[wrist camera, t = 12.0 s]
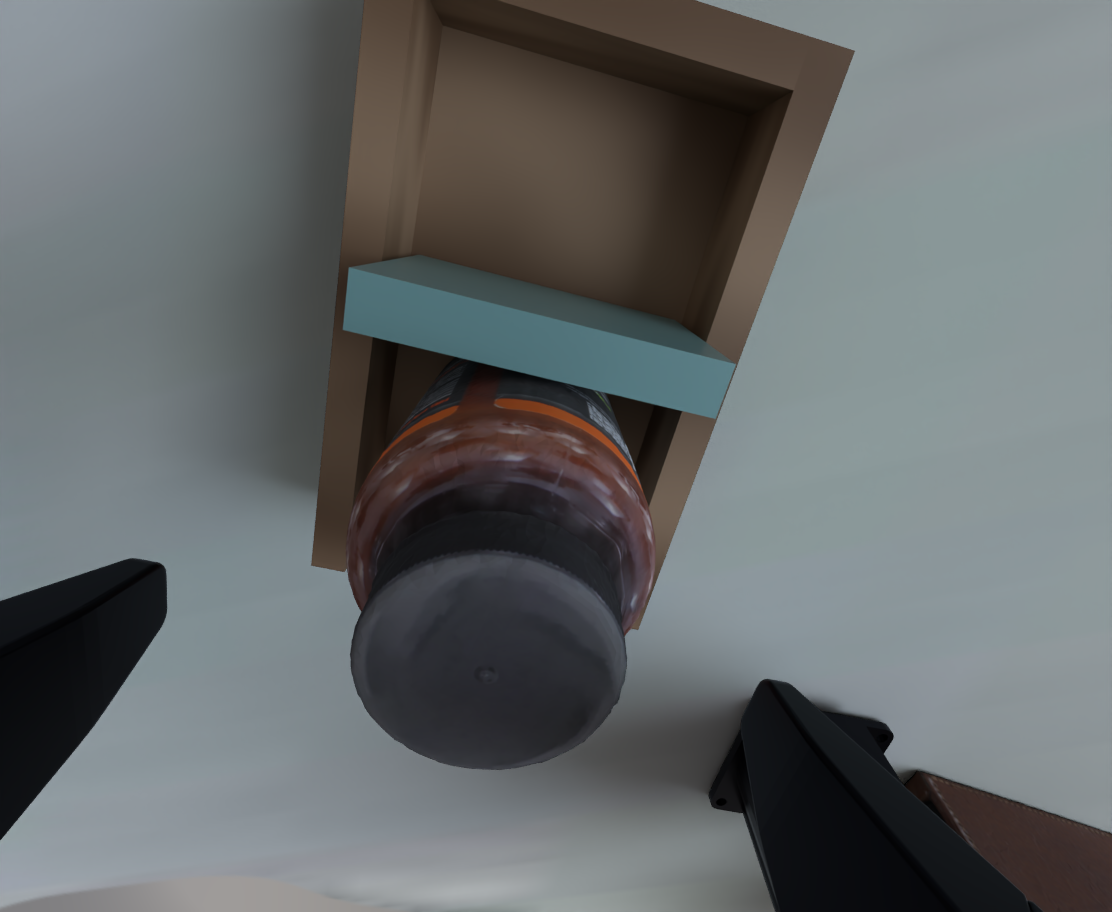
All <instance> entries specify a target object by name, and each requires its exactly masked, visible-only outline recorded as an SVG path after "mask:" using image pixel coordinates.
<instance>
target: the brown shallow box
mask: <svg viewBox="0 0 1112 912" xmlns="http://www.w3.org/2000/svg"><path fill="white" fill-rule="evenodd" d="M854 52H855V51H854V50H851V49H847V48H844V47H841V46H838V45H835V44H832V43H828V42H825V41H822V40H819V39H816V38H813V37H809V36H806V35H803V34H800V33H797V32H794V31H790V30H787V29H784V28H781V27H778V26H775V25H771V24H768V23H765V22H762V21H759V20H756V19H752V18H749V17H746V16H743V15H740V14H737V13H733V12H730V11H727V10H724V9H721V8H718V7H714V6H711V5H708V4H705V3H702V2H699V1H695V0H364V8H363V18H362V29H361V40H360V51H359V61H358V72H357V83H356V93H355V104H354V115H353V125H352V136H351V147H350V157H349V168H348V179H347V189H346V200H345V211H344V222H343V232H342V243H341V254H340V264H339V275H338V286H337V296H336V307H335V318H334V328H333V339H332V350H331V360H330V371H329V382H328V392H327V403H326V414H325V425H324V435H323V446H322V457H321V467H320V478H319V489H318V499H317V510H316V521H315V531H314V542H313V553H312V563H311V566H316V567H321V568H327V569H332V570H337V571H342V572H345V570H346V569H347V561H346V540H347V530H348V524H349V520H350V515H351V511H352V509H353V506H354V503H355V500H356V497H357V495H358V493H359V491H360V489H361V487H362V485H363V483H364V482H365V480H366V478H367V476H368V475H369V473H370V472H371V470H372V469H373V467H374V466H375V464H376V463H377V462H378V460H379V459H380V457H381V455H382V453H383V452H384V451H385V449H386V447H387V446H388V445H389V444H390V442H391V441H392V439H393V438H394V437H395V435H396V434H397V433H398V431H399V430H400V428H401V427H402V425H403V424H404V423H405V421H406V420H407V419H408V417H409V416H410V414H411V413H412V411H413V409H414V408H415V407H416V406H417V404H418V403H419V401H420V400H421V399H422V397H423V396H424V394H425V393H426V392H427V390H428V388H429V387H430V386H431V384H432V383H433V382H434V381H435V379H436V378H437V376H438V375H439V374H440V372H441V371H442V370H443V369H444V367H445V366H446V365H447V364H448V363H450V362H451V360H453V359H454V358H455V357H454V356H450V355H446V354H442V353H438V352H434V351H429V350H425V349H421V348H417V347H413V346H409V345H404V344H400V343H396V342H392V341H388V340H383V339H379V338H375V337H371V336H367V335H363V334H358V333H354V332H350V331H346V330H343V323H344V313H345V303H346V293H347V283H348V273H349V267H354V266H360V265H365V264H371V263H376V262H382V261H387V260H393V259H398V258H404V257H409V256H415V255H423V256H427V257H430V258H434V259H438V260H442V261H446V262H450V263H454V264H458V265H462V266H466V267H470V268H473V269H477V270H481V271H485V272H489V273H493V274H497V275H501V276H505V277H509V278H513V279H517V280H520V281H524V282H528V283H532V284H536V285H540V286H544V287H548V288H552V289H556V290H560V291H563V292H567V293H571V294H575V295H579V296H583V297H587V298H591V299H595V300H599V301H603V302H606V303H610V304H614V305H618V306H622V307H626V308H630V309H634V310H638V311H642V312H646V313H650V314H653V315H657V316H661V317H665V318H669V319H673V320H676V321H677V322H678V323H680V324H681V325H683V326H684V327H685V328H687V329H688V330H689V331H691V332H692V333H694V334H695V335H696V336H698V337H699V338H700V339H702V340H703V341H705V342H706V343H707V344H709V345H710V346H711V347H713V348H714V349H716V350H717V351H718V352H720V353H721V354H723V355H724V356H725V357H727V358H728V359H729V360H731V361H732V362H734V363H735V364H736V366H735V368H734V371H733V374H732V377H731V379H730V382H729V385H728V387H727V390H726V393H725V395H724V398H723V401H722V403H721V406H720V409H719V411H718V414H717V417H716V419H714V418H710V417H705V416H701V415H697V414H693V413H689V412H684V411H680V410H676V409H672V408H668V407H664V406H659V405H655V404H651V403H647V402H643V401H638V400H634V399H630V398H626V397H622V396H618V395H613V394H609V393H606V395H607V397H608V399H609V402H610V405H611V408H612V410H613V412H614V415H615V418H616V420H617V423H618V425H619V428H620V431H621V434H622V436H623V439H624V441H625V444H626V446H627V448H628V451H629V454H630V456H631V459H632V462H633V464H634V467H635V470H636V472H637V474H638V477H639V480H640V483H641V487H642V490H643V493H644V496H645V498H646V501H647V504H648V507H649V511H650V514H651V518H652V524H653V529H654V535H655V545H656V559H655V572H654V576H653V582H652V588H651V590H650V592H649V594H648V596H647V600H646V602H645V605H644V607H643V608H642V610H641V612H640V615H639V617H638V619H637V620H636V621H635V623H634V624H633V626H632V628H631V629H636V630H638V629H639V626H640V623H641V621H642V618H643V615H644V613H645V610H646V607H647V605H648V602H649V599H650V597H651V594H652V591H653V589H654V586H655V583H656V581H657V578H658V575H659V573H660V570H661V567H662V565H663V562H664V559H665V557H666V554H667V551H668V549H669V546H670V543H671V541H672V538H673V535H674V533H675V530H676V527H677V525H678V522H679V519H680V517H681V514H682V511H683V509H684V506H685V503H686V501H687V498H688V495H689V493H690V490H691V487H692V485H693V482H694V479H695V477H696V474H697V471H698V468H699V466H700V463H701V460H702V458H703V455H704V452H705V450H706V447H707V444H708V442H709V439H710V436H711V434H712V431H713V428H714V426H715V423H716V420H717V418H718V415H719V412H720V410H721V407H722V404H723V402H724V399H725V396H726V394H727V391H728V388H729V386H730V383H731V380H732V378H733V375H734V372H735V370H736V367H737V364H738V362H739V359H740V356H741V354H742V351H743V348H744V346H745V343H746V340H747V338H748V335H749V332H750V330H751V327H752V324H753V322H754V319H755V316H756V314H757V311H758V308H759V306H760V303H761V300H762V298H763V295H764V292H765V290H766V287H767V284H768V282H769V279H770V276H771V274H772V271H773V268H774V266H775V263H776V260H777V258H778V255H779V252H780V249H781V247H782V244H783V241H784V239H785V236H786V233H787V231H788V228H789V225H790V223H791V220H792V217H793V215H794V212H795V209H796V207H797V204H798V201H799V199H800V196H801V193H802V191H803V188H804V185H805V183H806V180H807V177H808V175H809V172H810V169H811V167H812V164H813V161H814V159H815V156H816V153H817V151H818V148H819V145H820V143H821V140H822V137H823V135H824V132H825V129H826V127H827V124H828V121H829V119H830V116H831V113H832V111H833V108H834V105H835V103H836V100H837V97H838V95H839V92H840V89H841V87H842V84H843V81H844V79H845V76H846V73H847V71H848V68H849V65H850V63H851V60H852V57H853V55H854Z"/></svg>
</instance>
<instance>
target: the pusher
mask: <svg viewBox="0 0 1112 912" xmlns="http://www.w3.org/2000/svg"><path fill="white" fill-rule="evenodd" d="M343 330H346V331H350V332H354V333H358V334H363V335H367V336H371V337H375V338H379V339H383V340H388V341H392V342H396V343H400V344H404V345H409V346H413V347H417V348H421V349H425V350H429V351H434V352H438V353H442V354H446V355H450V356H454V357H459V358H463V359H467V360H471V361H475V362H480V363H484V364H488V365H492V366H496V367H500V368H505V369H509V370H513V371H517V372H521V373H526V374H530V375H534V376H538V377H542V378H546V379H551V380H555V381H559V382H563V383H567V384H572V385H576V386H580V387H584V388H588V389H592V390H597V391H601V392H605V393H609V394H613V395H618V396H622V397H626V398H630V399H634V400H638V401H643V402H647V403H651V404H655V405H659V406H664V407H668V408H672V409H676V410H680V411H684V412H689V413H693V414H697V415H701V416H705V417H710V418H714V419H716V417H717V414H718V411H719V409H720V406H721V403H722V401H723V398H724V395H725V393H726V390H727V387H728V385H729V382H730V379H731V377H732V374H733V371H734V368H735V366H736V364H735V363H734V362H732V361H731V360H729V359H728V358H727V357H725V356H724V355H723V354H721V353H720V352H718V351H717V350H716V349H714V348H713V347H711V346H710V345H709V344H707V343H706V342H705V341H703V340H702V339H700V338H699V337H698V336H696V335H695V334H694V333H692V332H691V331H689V330H688V329H687V328H685V327H684V326H683V325H681V324H680V323H678V322H677V321H676V320H673V319H669V318H665V317H661V316H657V315H653V314H650V313H646V312H642V311H638V310H634V309H630V308H626V307H622V306H618V305H614V304H610V303H606V302H603V301H599V300H595V299H591V298H587V297H583V296H579V295H575V294H571V293H567V292H563V291H560V290H556V289H552V288H548V287H544V286H540V285H536V284H532V283H528V282H524V281H520V280H517V279H513V278H509V277H505V276H501V275H497V274H493V273H489V272H485V271H481V270H477V269H473V268H470V267H466V266H462V265H458V264H454V263H450V262H446V261H442V260H438V259H434V258H430V257H427V256H423V255H415V256H409V257H404V258H398V259H393V260H387V261H382V262H376V263H371V264H365V265H360V266H354V267H349V273H348V283H347V293H346V303H345V313H344V323H343Z"/></svg>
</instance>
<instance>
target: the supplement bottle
mask: <svg viewBox="0 0 1112 912" xmlns="http://www.w3.org/2000/svg"><path fill="white" fill-rule="evenodd" d="M655 559H656V545H655V535H654V529H653V524H652V518H651V514H650V511H649V507H648V504H647V501H646V498H645V496H644V493H643V490H642V487H641V483H640V480H639V477H638V474H637V472H636V470H635V467H634V464H633V462H632V459H631V456H630V454H629V451H628V448H627V446H626V444H625V441H624V439H623V436H622V434H621V431H620V428H619V425H618V423H617V420H616V418H615V415H614V412H613V410H612V408H611V405H610V402H609V399H608V397H607V395H606V393H605V392H601V391H597V390H592V389H588V388H584V387H580V386H576V385H572V384H567V383H563V382H559V381H555V380H551V379H546V378H542V377H538V376H534V375H530V374H526V373H521V372H517V371H513V370H509V369H505V368H500V367H496V366H492V365H488V364H484V363H480V362H475V361H471V360H467V359H463V358H459V357H455V358H454V359H453V360H451V362H450V363H448V364H447V365H446V366H445V367H444V369H443V370H442V371H441V372H440V374H439V375H438V376H437V378H436V379H435V381H434V382H433V383H432V384H431V386H430V387H429V388H428V390H427V392H426V393H425V394H424V396H423V397H422V399H421V400H420V401H419V403H418V404H417V406H416V407H415V408H414V409H413V411H412V413H411V414H410V416H409V417H408V419H407V420H406V421H405V423H404V424H403V425H402V427H401V428H400V430H399V431H398V433H397V434H396V435H395V437H394V438H393V439H392V441H391V442H390V444H389V445H388V446H387V447H386V449H385V451H384V452H383V453H382V455H381V457H380V459H379V460H378V462H377V463H376V464H375V466H374V467H373V469H372V470H371V472H370V473H369V475H368V476H367V478H366V480H365V482H364V483H363V485H362V487H361V489H360V491H359V493H358V495H357V497H356V500H355V503H354V506H353V509H352V511H351V515H350V520H349V524H348V530H347V540H346V561H347V572H348V578H349V582H350V585H351V588H352V591H353V595H354V598H355V600H356V603H357V605H358V607H359V609H360V610H361V611H362V612H361V614H360V617H359V619H358V621H357V624H356V626H355V629H354V635H353V639H352V645H351V653H350V657H351V672H352V675H353V680H354V684H355V687H356V690H357V693H358V695H359V697H360V698H361V700H362V702H363V704H364V707H365V709H366V710H367V712H368V713H369V714H370V716H371V717H372V718H373V719H374V720H375V721H376V722H377V723H378V725H379V726H380V727H381V728H382V729H384V730H385V731H386V732H387V733H388V734H389V735H390V736H391V737H392V738H393V739H395V740H396V741H398V742H400V743H402V744H404V745H405V746H406V747H407V748H409V749H411V750H413V751H415V752H416V753H418V754H421V755H423V756H425V757H428V758H430V759H433V760H436V761H438V762H440V763H444V764H448V765H452V766H458V767H464V768H471V769H488V770H502V769H511V768H518V767H523V766H527V765H531V764H536V763H541V762H544V761H547V760H549V759H551V758H554V757H556V756H558V755H560V754H562V753H564V752H567V751H569V750H570V749H572V748H574V747H575V746H577V745H579V744H580V743H582V742H584V741H585V740H586V739H587V738H588V737H589V736H590V735H591V734H593V732H594V731H595V730H596V729H597V728H598V727H599V726H600V725H601V724H602V723H603V721H604V720H605V719H606V717H607V716H608V715H609V714H610V712H611V710H612V708H613V706H614V705H615V704H617V703H618V700H619V697H620V692H621V688H622V686H623V683H624V681H625V674H626V667H627V655H626V646H625V638H624V636H625V635H626V633H627V632H628V631H629V630H630V629H631V628H632V626H633V624H634V623H635V621H636V620H637V619H638V617H639V615H640V612H641V610H642V608H643V607H644V605H645V602H646V600H647V596H648V594H649V592H650V590H651V588H652V582H653V576H654V572H655Z"/></svg>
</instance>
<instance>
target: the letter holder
mask: <svg viewBox="0 0 1112 912" xmlns="http://www.w3.org/2000/svg"><path fill="white" fill-rule="evenodd" d="M905 787H906V788H907V789H908V790H909V791H910V792H911V793H912V794H914V795H915V796H916V797H917V798H918V799H919V800H920V801H921V802H922V803H924V804H925V805H926V806H927V807H928V808H929V809H930V810H931V811H932V812H934V813H935V814H936V815H937V816H938V817H939V818H940V819H941V820H942V821H944V822H945V823H946V824H947V825H948V826H949V827H950V828H951V829H952V830H954V831H955V832H956V833H957V834H958V835H959V836H960V837H961V838H962V839H964V840H965V841H966V842H967V843H968V844H969V845H970V846H971V847H973V848H974V849H975V850H976V851H977V852H978V853H979V854H980V855H981V856H983V857H984V858H985V859H986V860H987V861H988V862H989V863H990V864H991V865H993V866H994V867H995V868H996V869H997V870H998V871H999V872H1000V873H1001V874H1003V875H1004V876H1005V877H1006V878H1007V879H1008V880H1009V881H1010V882H1011V883H1013V884H1014V885H1015V886H1016V887H1017V888H1018V889H1019V890H1020V891H1021V892H1023V893H1024V894H1025V896H1026V898H1027V900H1030V901H1032V902H1034V903H1035V904H1036V905H1037V906H1038V907H1039V908H1041V909H1042V910H1043V911H1044V912H1112V834H1111V833H1107V832H1104V831H1101V830H1099V829H1095V828H1092V827H1090V826H1086V825H1083V824H1080V823H1077V822H1074V821H1071V820H1068V819H1065V818H1062V817H1060V816H1057V815H1052V814H1049V813H1046V812H1044V811H1042V810H1038V809H1034V808H1032V807H1029V806H1026V805H1024V804H1020V803H1018V802H1013V801H1011V800H1007V799H1005V798H1002V797H998V796H996V795H993V794H990V793H986V792H983V791H980V790H977V789H974V788H971V787H967V786H964V785H961V784H958V783H955V782H952V781H949V780H946V779H944V778H941V777H937V776H933V775H930V774H927V773H923V772H920V771H917V772H916V774H915V775H914V776H913V777H912V778H911V779H910V781H909V782H908V783H907V784H906V785H905Z"/></svg>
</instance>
